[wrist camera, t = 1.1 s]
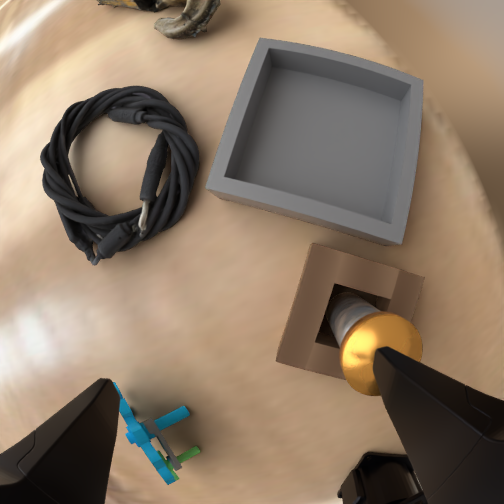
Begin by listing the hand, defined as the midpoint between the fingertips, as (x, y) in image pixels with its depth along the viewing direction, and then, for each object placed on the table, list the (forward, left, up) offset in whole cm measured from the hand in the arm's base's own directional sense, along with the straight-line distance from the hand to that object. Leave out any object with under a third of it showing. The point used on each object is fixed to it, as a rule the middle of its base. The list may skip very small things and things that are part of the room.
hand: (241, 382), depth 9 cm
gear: (+7, +14, -13) cm, 20 cm away
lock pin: (-5, -1, -13) cm, 14 cm away
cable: (+17, -8, -13) cm, 23 cm away
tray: (0, -13, -13) cm, 18 cm away
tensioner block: (-5, -1, -13) cm, 14 cm away
